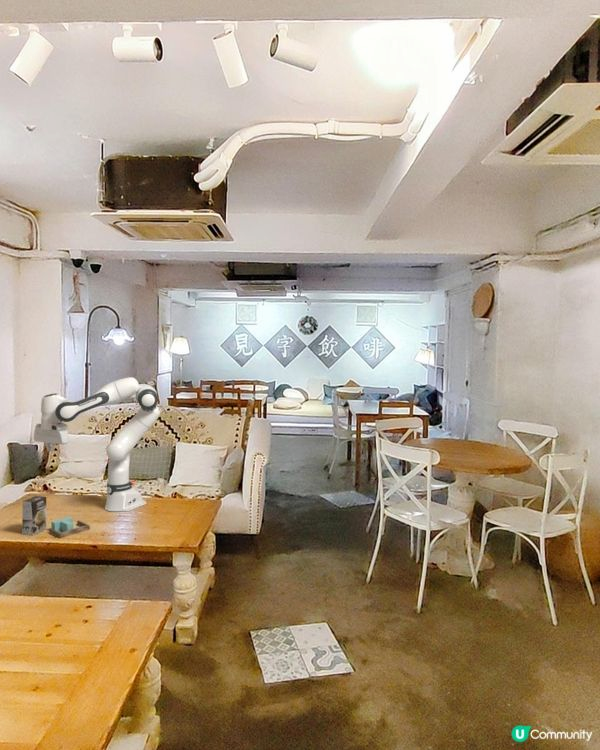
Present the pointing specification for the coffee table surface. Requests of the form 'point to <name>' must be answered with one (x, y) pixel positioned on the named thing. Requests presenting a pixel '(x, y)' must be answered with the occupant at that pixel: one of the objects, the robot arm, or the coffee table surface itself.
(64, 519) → the t block
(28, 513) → the coffee box
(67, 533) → the dark u-shaped bracket
